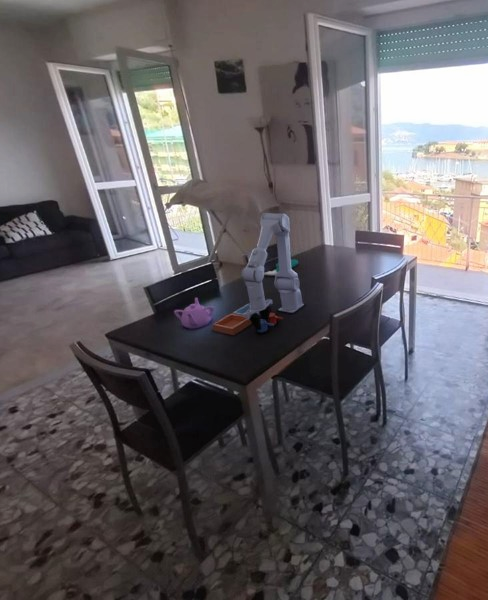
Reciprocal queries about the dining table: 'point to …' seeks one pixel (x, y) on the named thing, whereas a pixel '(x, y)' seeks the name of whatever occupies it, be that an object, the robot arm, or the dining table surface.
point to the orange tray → (231, 324)
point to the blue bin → (243, 310)
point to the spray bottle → (293, 264)
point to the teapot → (195, 315)
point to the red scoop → (273, 318)
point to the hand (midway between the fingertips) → (262, 326)
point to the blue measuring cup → (264, 325)
